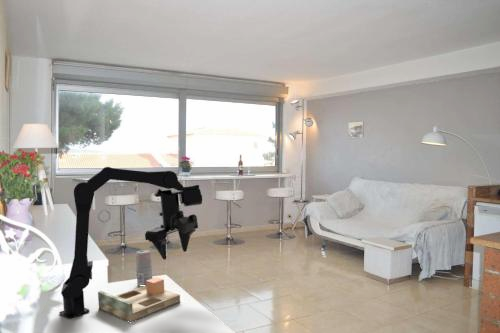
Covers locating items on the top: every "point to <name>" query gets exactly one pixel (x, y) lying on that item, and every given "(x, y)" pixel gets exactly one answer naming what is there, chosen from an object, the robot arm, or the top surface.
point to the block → (155, 286)
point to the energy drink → (143, 266)
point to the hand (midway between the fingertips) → (175, 255)
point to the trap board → (136, 303)
